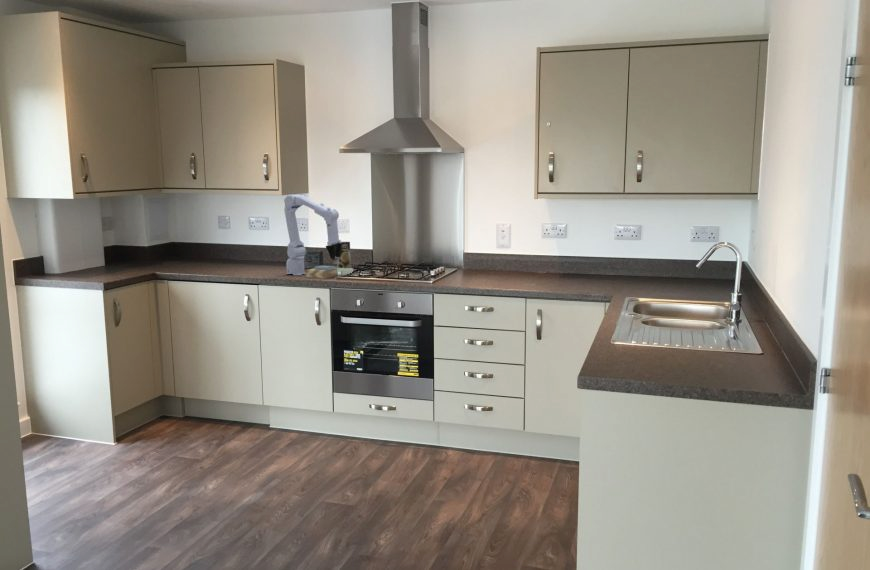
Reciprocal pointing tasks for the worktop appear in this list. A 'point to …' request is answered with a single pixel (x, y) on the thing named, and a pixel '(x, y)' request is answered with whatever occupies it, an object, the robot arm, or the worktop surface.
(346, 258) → the coffee box
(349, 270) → the tray
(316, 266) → the blue rectangular block
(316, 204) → the robot arm
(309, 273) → the tan flat block
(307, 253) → the small box
